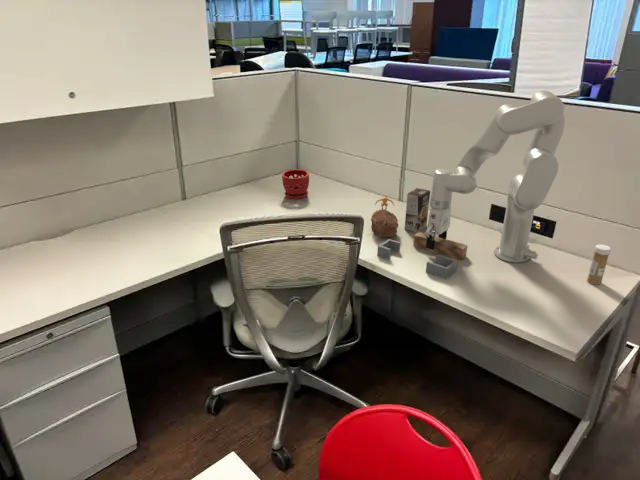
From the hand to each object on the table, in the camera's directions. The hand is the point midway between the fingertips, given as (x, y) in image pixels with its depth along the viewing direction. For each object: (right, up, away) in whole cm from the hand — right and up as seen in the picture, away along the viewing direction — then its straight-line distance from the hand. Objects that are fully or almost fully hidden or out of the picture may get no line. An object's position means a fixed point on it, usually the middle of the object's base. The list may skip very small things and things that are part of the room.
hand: (436, 244), depth 189 cm
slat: (+1, -3, 0) cm, 3 cm away
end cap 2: (-2, -10, -14) cm, 17 cm away
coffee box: (-4, +7, +20) cm, 22 cm away
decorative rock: (-18, +4, +15) cm, 24 cm away
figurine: (-17, +10, +28) cm, 34 cm away
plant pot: (-57, +23, +55) cm, 82 cm away
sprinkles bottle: (+49, -13, -21) cm, 55 cm away
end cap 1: (-19, -4, -1) cm, 19 cm away
